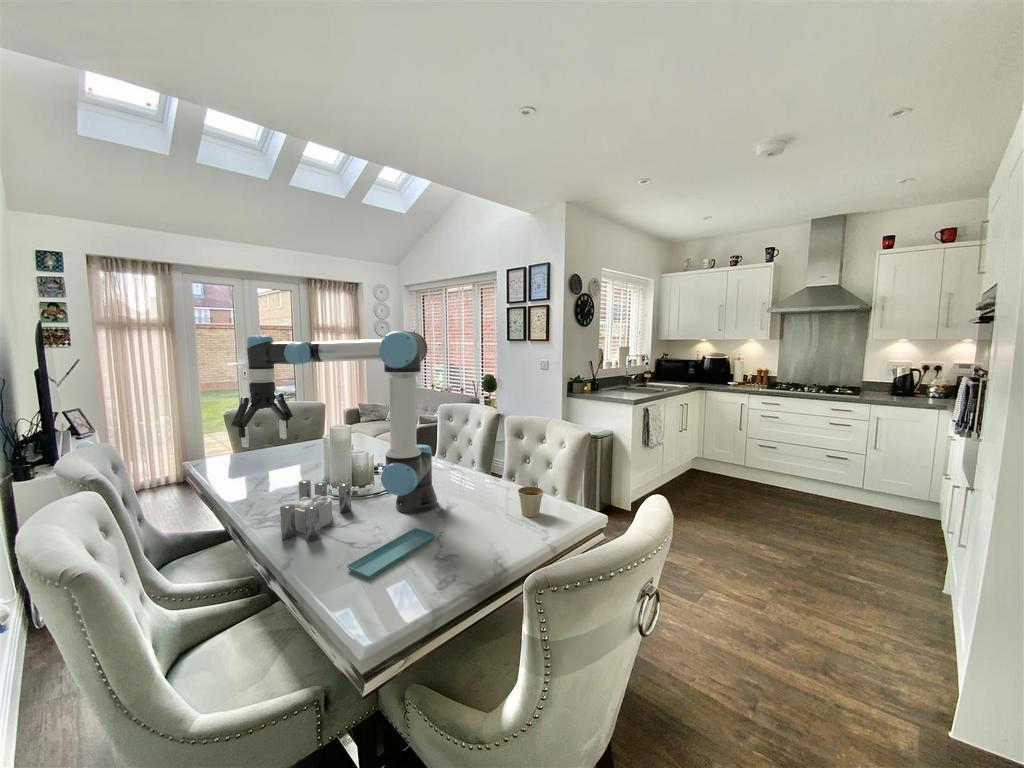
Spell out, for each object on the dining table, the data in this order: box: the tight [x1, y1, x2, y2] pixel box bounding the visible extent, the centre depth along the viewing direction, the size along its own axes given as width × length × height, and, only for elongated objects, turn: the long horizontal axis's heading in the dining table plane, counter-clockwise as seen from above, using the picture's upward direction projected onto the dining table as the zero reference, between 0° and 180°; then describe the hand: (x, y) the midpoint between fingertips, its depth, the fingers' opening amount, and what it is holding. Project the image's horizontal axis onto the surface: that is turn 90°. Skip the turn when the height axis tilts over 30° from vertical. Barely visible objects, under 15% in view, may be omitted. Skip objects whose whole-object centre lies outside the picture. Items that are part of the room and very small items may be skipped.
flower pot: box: [517, 485, 545, 518], centre depth 148 cm, size 9×9×9 cm
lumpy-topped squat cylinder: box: [293, 495, 333, 533], centre depth 140 cm, size 10×13×9 cm
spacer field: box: [279, 479, 353, 542], centre depth 141 cm, size 20×26×10 cm
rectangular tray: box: [346, 527, 437, 580], centre depth 119 cm, size 26×9×2 cm, turn 149°
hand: (265, 442), depth 143 cm, fingers open, 13 cm apart
